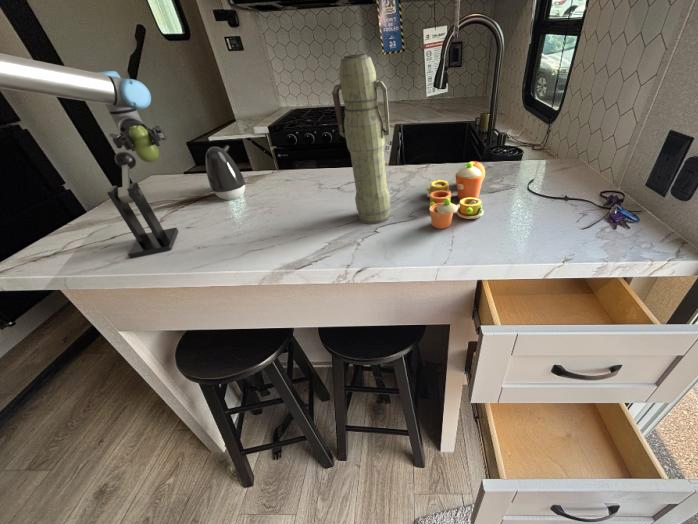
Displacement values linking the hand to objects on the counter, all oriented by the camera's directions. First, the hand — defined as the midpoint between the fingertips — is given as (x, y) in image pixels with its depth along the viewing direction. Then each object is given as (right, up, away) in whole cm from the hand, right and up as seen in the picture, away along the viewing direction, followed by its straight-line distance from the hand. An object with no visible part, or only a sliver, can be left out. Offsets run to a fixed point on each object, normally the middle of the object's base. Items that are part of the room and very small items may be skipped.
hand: (143, 143), depth 93 cm
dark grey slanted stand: (+8, -29, -7) cm, 31 cm away
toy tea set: (+86, -19, -2) cm, 88 cm away
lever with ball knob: (+5, -15, -11) cm, 19 cm away
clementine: (+92, -9, +10) cm, 93 cm away
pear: (-3, -2, +7) cm, 8 cm away
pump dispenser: (+17, -10, +16) cm, 25 cm away
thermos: (+64, -21, -3) cm, 67 cm away
